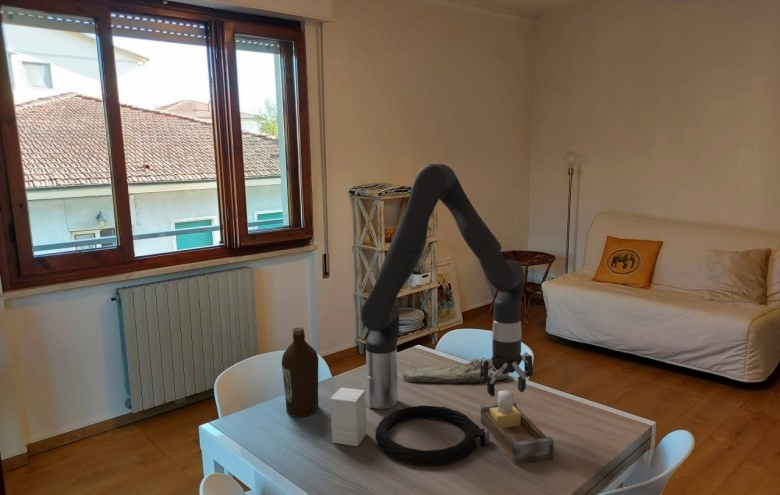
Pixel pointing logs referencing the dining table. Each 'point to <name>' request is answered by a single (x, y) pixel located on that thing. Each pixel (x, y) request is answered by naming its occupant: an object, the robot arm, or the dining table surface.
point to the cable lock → (430, 457)
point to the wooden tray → (518, 438)
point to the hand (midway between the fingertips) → (506, 393)
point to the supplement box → (348, 416)
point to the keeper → (506, 410)
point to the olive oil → (300, 376)
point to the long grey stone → (448, 373)
